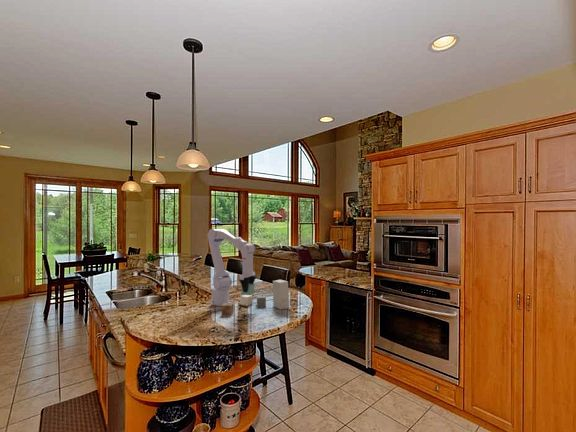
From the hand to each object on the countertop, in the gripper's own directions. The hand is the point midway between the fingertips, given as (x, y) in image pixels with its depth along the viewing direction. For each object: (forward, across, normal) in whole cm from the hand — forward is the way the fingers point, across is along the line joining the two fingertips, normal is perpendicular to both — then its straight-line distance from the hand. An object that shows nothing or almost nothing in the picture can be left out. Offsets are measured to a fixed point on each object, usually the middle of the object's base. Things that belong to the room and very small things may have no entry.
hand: (247, 290), depth 162 cm
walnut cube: (+10, -9, +7) cm, 16 cm away
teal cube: (+2, 0, 0) cm, 2 cm away
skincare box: (+11, +11, -15) cm, 21 cm away
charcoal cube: (+10, +11, -3) cm, 16 cm away
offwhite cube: (+10, +10, +6) cm, 16 cm away
